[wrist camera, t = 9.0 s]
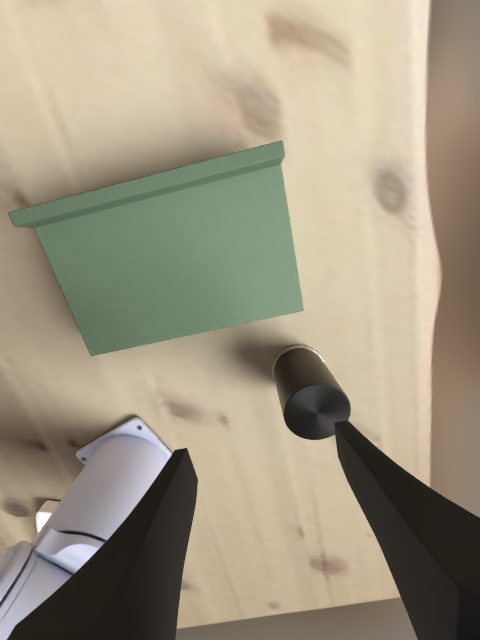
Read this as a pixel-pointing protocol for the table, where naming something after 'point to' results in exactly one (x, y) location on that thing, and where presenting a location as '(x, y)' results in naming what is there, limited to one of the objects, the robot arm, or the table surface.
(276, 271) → the shelf
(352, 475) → the robot arm
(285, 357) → the cylinder
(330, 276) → the table surface
